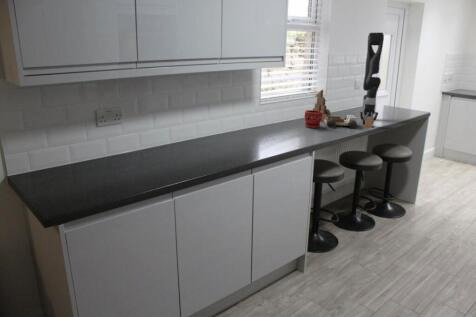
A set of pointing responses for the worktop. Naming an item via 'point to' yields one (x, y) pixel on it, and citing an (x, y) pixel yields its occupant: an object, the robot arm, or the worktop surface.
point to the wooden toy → (321, 105)
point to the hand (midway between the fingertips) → (367, 124)
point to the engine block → (368, 122)
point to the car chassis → (340, 121)
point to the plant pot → (313, 121)
